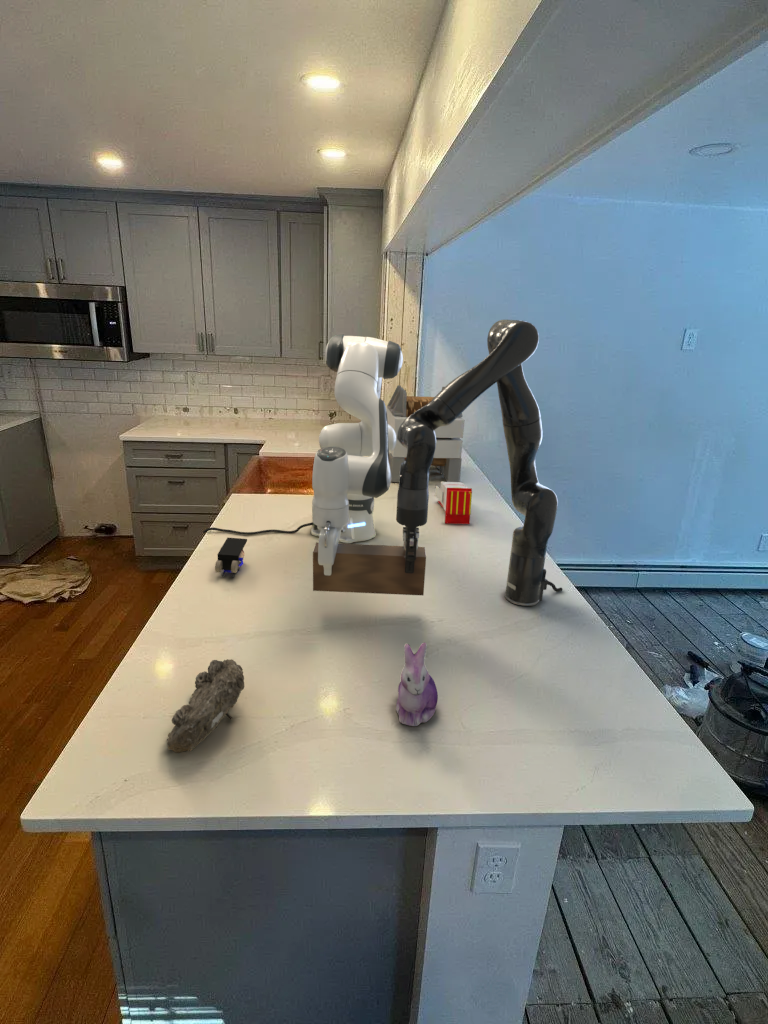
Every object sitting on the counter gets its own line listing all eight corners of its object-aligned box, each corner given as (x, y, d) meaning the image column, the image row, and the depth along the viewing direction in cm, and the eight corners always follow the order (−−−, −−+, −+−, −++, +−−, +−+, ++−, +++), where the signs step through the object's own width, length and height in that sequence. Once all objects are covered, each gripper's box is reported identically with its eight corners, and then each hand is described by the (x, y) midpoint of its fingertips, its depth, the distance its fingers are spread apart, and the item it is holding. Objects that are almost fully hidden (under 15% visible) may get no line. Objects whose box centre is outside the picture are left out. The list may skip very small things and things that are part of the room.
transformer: (382, 463, 289) (386, 382, 275) (445, 464, 293) (451, 384, 279) (390, 482, 257) (394, 392, 243) (460, 483, 261) (468, 394, 247)
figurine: (408, 735, 105) (412, 667, 100) (382, 702, 114) (386, 638, 109) (450, 721, 110) (457, 654, 105) (423, 690, 118) (428, 627, 113)
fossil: (192, 660, 117) (244, 628, 112) (224, 691, 120) (276, 661, 115) (142, 746, 98) (202, 712, 93) (182, 779, 101) (242, 748, 96)
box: (313, 590, 141) (312, 552, 138) (316, 579, 147) (316, 542, 143) (423, 595, 141) (426, 557, 138) (422, 584, 147) (424, 547, 143)
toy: (463, 477, 236) (476, 489, 206) (461, 509, 239) (474, 525, 209) (433, 476, 235) (443, 488, 206) (432, 508, 238) (441, 524, 209)
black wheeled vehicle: (238, 584, 162) (249, 557, 175) (236, 562, 158) (247, 536, 172) (215, 584, 161) (227, 556, 175) (212, 561, 158) (225, 535, 171)
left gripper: (339, 531, 128) (338, 586, 132) (346, 502, 147) (345, 550, 152) (311, 530, 128) (311, 584, 132) (322, 500, 147) (322, 549, 152)
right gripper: (429, 514, 129) (425, 580, 135) (426, 495, 143) (422, 555, 149) (397, 513, 129) (393, 579, 135) (396, 493, 143) (393, 554, 149)
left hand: (329, 566), depth 142 cm, fingers open, 7 cm apart
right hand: (408, 566), depth 142 cm, fingers closed on box, 6 cm apart
